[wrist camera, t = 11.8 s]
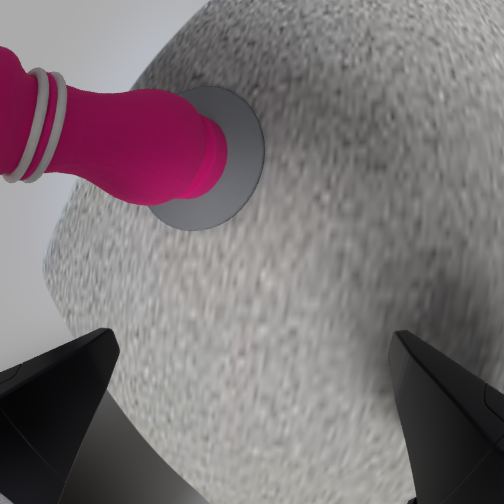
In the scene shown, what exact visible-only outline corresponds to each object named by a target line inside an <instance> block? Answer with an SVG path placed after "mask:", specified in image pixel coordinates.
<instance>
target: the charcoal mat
mask: <svg viewBox="0 0 504 504" xmlns="http://www.w3.org/2000/svg"><path fill="white" fill-rule="evenodd" d="M178 95H179V96H182V97H183V98H185V99H186V100H188V101H189V102H190V103H191V104H192V105H193V106H194V107H195V108H196V110H197V111H198V113H199V114H201V115H203V116H205V117H207V118H209V119H211V120H213V121H214V122H215V123H217V124H218V126H219V127H220V128H221V130H222V131H223V133H224V136H225V138H226V142H227V162H226V166H225V169H224V171H223V174H222V176H221V177H220V179H219V181H218V182H217V183H216V185H215V186H214V187H213V188H212V189H211V190H210V191H208V192H207V193H206V194H204V195H202V196H200V197H197V198H194V199H172V200H170V201H168V202H166V203H163V204H159V205H154V206H148V207H149V209H150V210H151V211H152V212H153V214H154V215H155V216H156V217H157V218H159V219H160V220H161V221H162V222H164V223H165V224H167V225H169V226H171V227H173V228H176V229H180V230H187V231H197V230H204V229H209V228H212V227H215V226H218V225H220V224H222V223H224V222H226V221H227V220H229V219H230V218H232V217H233V216H234V215H235V214H236V213H237V212H239V211H240V210H241V209H242V207H243V206H244V205H245V204H246V203H247V201H248V200H249V198H250V197H251V195H252V194H253V192H254V190H255V188H256V186H257V184H258V182H259V179H260V176H261V173H262V168H263V164H264V154H265V147H264V137H263V132H262V129H261V126H260V123H259V121H258V119H257V117H256V115H255V113H254V112H253V110H252V109H251V108H250V107H249V106H248V105H247V104H246V103H245V102H244V101H243V100H242V99H241V98H239V97H238V96H236V95H235V94H234V93H232V92H230V91H227V90H225V89H222V88H218V87H197V88H193V89H190V90H187V91H184V92H182V93H180V94H178Z"/></svg>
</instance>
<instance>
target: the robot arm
mask: <svg viewBox="0 0 504 504" xmlns="http://www.w3.org/2000/svg"><path fill="white" fill-rule="evenodd" d="M119 353H120V349H119V345H118V343H117V340H116V337H115V335H114V332H113V331H112V329H110V328H99V329H97V330H95V331H92V332H90V333H88V334H86V335H84V336H81V337H79V338H77V339H75V340H72V341H71V342H68V343H66V344H64V345H61V346H59V347H57V348H55V349H52V350H50V351H48V352H46V353H43V354H41V355H39V356H37V357H34V358H33V359H30V360H28V361H26V362H23V363H22V364H19V365H16V366H14V367H12V368H9V369H7V370H5V371H2V372H0V504H59V501H60V498H61V495H62V493H63V490H64V487H65V485H66V481H67V479H68V476H69V474H70V471H71V469H72V466H73V464H74V461H75V459H76V457H77V454H78V452H79V449H80V447H81V445H82V442H83V440H84V437H85V435H86V433H87V431H88V429H89V426H90V424H91V422H92V420H93V417H94V415H95V413H96V411H97V408H98V406H99V404H100V402H101V400H102V398H103V396H104V394H105V391H106V389H107V387H108V384H109V381H110V378H111V376H112V373H113V370H114V367H115V365H116V362H117V359H118V357H119ZM389 364H390V370H391V376H392V382H393V389H394V395H395V401H396V406H397V410H398V413H399V417H400V421H401V425H402V429H403V433H404V437H405V442H406V446H407V450H408V455H409V460H410V464H411V469H412V474H413V480H414V485H415V491H416V496H417V497H415V498H413V499H411V500H409V501H408V503H407V504H504V394H502V393H501V392H499V391H498V390H496V389H495V388H493V387H492V386H490V385H489V384H487V383H485V382H484V381H483V380H481V379H480V378H478V377H477V376H475V375H474V374H472V373H471V372H469V371H468V370H467V369H465V368H464V367H462V366H461V365H459V364H458V363H456V362H455V361H453V360H452V359H450V358H449V357H447V356H446V355H444V354H443V353H441V352H440V351H438V350H437V349H435V348H434V347H432V346H431V345H429V344H428V343H426V342H424V341H423V340H421V339H420V338H418V337H417V336H415V335H414V334H412V333H411V332H409V331H408V330H400V331H395V332H394V333H393V336H392V340H391V345H390V350H389Z"/></svg>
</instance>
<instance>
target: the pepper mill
mask: <svg viewBox="0 0 504 504" xmlns="http://www.w3.org/2000/svg"><path fill="white" fill-rule="evenodd" d="M226 162H227V142H226V138H225V136H224V133H223V131H222V130H221V128H220V127H219V126H218V124H217V123H215V122H214V121H213V120H211V119H209V118H207V117H205V116H203V115H201V114H199V113H198V111H197V110H196V108H195V107H194V106H193V105H192V104H191V103H190V102H189V101H188V100H186V99H185V98H183V97H182V96H179V95H177V94H174V93H171V92H168V91H165V90H158V89H140V90H134V91H129V92H124V93H114V94H112V93H95V92H89V91H83V90H79V89H76V88H74V87H71V86H68V85H66V83H65V80H64V78H63V76H62V75H61V74H60V73H58V72H50V73H48V72H46V71H45V70H44V69H42V68H34V69H32V70H31V71H29V72H28V73H26V72H25V71H24V69H23V68H22V66H21V63H20V61H19V59H18V57H17V56H16V55H15V54H14V53H13V52H12V51H11V50H9V49H7V48H5V47H1V46H0V175H1V174H2V176H3V178H4V179H5V180H6V181H7V182H9V183H15V182H16V181H18V180H20V181H21V180H22V181H23V182H25V183H32V182H34V181H36V180H37V179H38V178H40V177H41V175H42V174H43V173H51V172H59V173H66V174H73V175H77V176H79V177H82V178H84V179H86V180H88V181H90V182H91V183H93V184H95V185H96V186H98V187H99V188H101V189H102V190H104V191H105V192H107V193H109V194H110V195H112V196H113V197H115V198H118V199H120V200H123V201H125V202H128V203H132V204H138V205H145V206H154V205H159V204H163V203H166V202H168V201H170V200H172V199H194V198H197V197H200V196H202V195H204V194H206V193H207V192H208V191H210V190H211V189H212V188H213V187H214V186H215V185H216V183H217V182H218V181H219V179H220V177H221V176H222V174H223V171H224V169H225V166H226Z"/></svg>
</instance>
